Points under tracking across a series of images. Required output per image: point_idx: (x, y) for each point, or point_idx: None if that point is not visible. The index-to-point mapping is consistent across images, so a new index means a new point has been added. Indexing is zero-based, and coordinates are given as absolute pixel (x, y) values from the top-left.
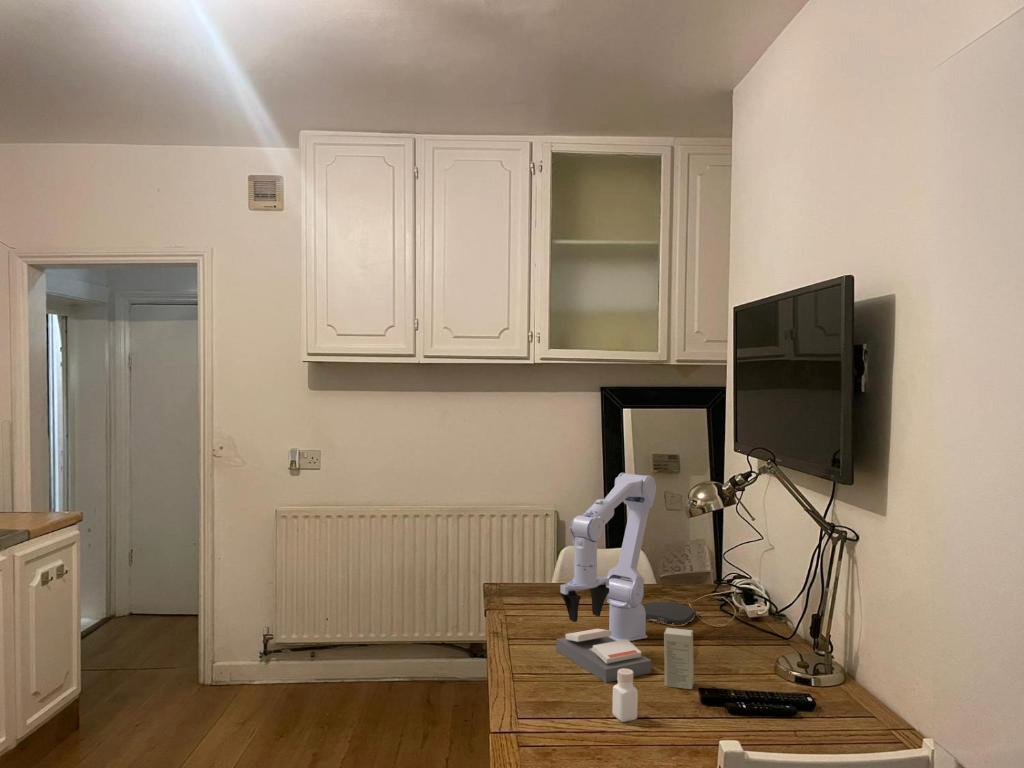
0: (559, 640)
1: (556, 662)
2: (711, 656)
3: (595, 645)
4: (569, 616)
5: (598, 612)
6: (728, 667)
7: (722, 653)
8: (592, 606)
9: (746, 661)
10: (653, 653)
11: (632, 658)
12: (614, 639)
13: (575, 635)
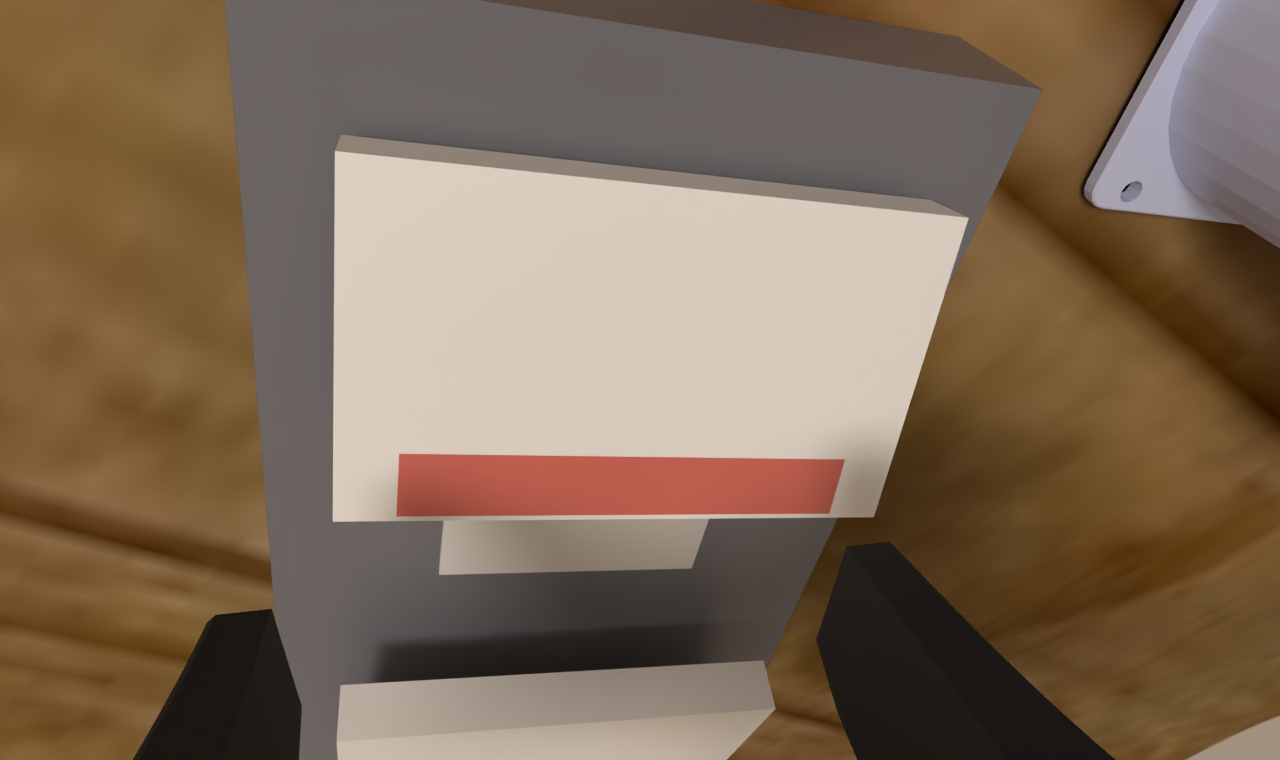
0: (236, 64)
1: (53, 263)
2: (1186, 621)
3: (365, 745)
4: (182, 691)
5: (843, 711)
6: (1073, 722)
7: (1267, 612)
8: (927, 663)
9: (1204, 700)
10: (1029, 478)
11: None
12: (1131, 115)
13: (370, 415)
